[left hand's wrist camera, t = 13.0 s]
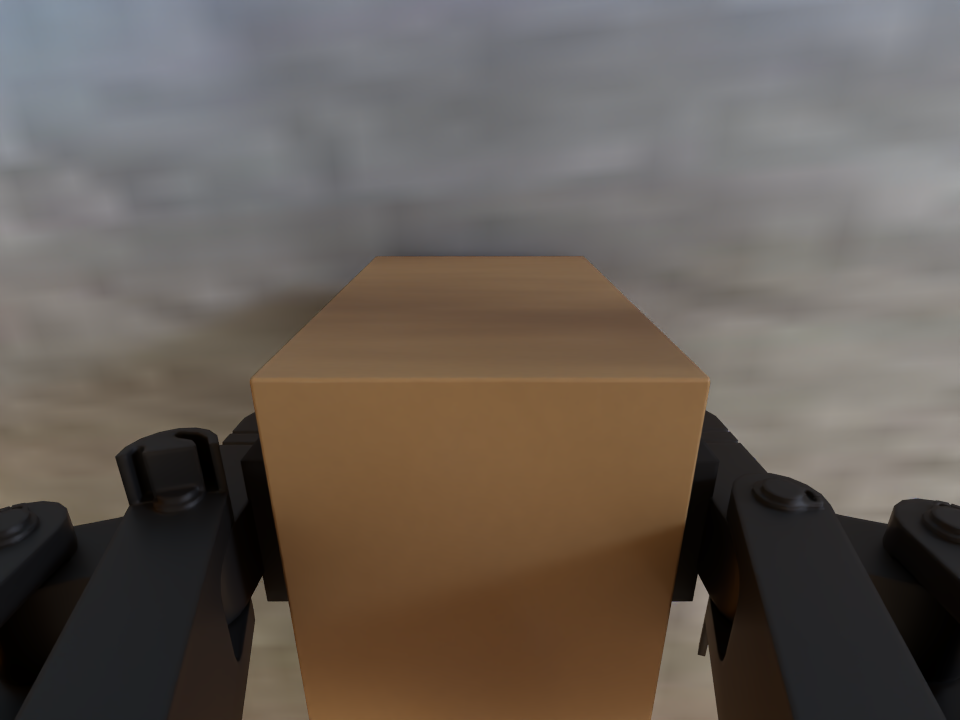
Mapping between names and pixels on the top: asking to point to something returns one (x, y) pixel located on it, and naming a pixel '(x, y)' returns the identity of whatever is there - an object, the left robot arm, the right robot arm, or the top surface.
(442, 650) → the bar
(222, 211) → the top surface
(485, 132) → the top surface
